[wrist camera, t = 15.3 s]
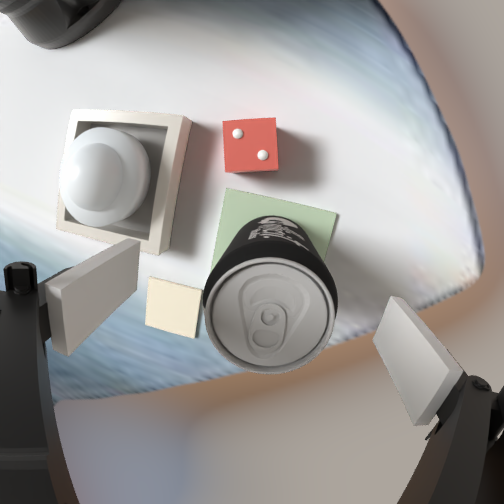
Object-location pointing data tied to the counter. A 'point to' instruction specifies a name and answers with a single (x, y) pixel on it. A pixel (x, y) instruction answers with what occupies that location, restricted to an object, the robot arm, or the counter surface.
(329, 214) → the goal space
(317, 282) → the beverage can
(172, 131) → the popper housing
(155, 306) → the track space
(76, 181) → the dome
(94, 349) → the counter surface
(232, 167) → the red die
